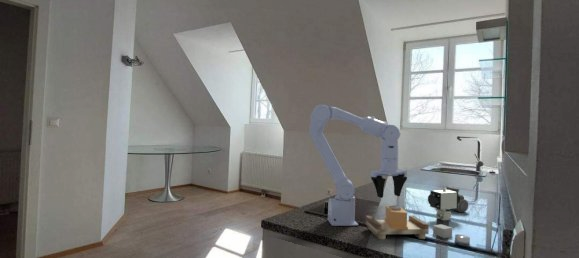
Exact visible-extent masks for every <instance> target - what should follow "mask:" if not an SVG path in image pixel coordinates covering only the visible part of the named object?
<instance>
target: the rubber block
mask: <svg viewBox="0 0 579 258" xmlns="http://www.w3.org/2000/svg"><path fill="white" fill-rule="evenodd" d="M434 234H435V235H434ZM432 235H434V236H436V235H438V236H437V237H439V236H440V238H443V239H447V238H451V237H453V227H452V226H448V225H445V224H442V223H440V224H435V225H433V226H432Z"/></svg>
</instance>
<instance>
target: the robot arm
mask: <svg viewBox="0 0 579 258" xmlns="http://www.w3.org/2000/svg"><path fill="white" fill-rule="evenodd" d="M330 118H331V121H336V120H340V121H344V122H347V123H350V124H352V125H356V126H358V127H360V130H361V132H364V133H366V134H370V135H372V136H374V137H377V138H381V147H380V152H381V153H380V169H379V170H378V169H377V170H371V171H370V178H371V181H372V183H373V185H374V188H375V190H376V196H377V197H378V198H383V197H384V190H385V189H384V188H385V184H386V180H387V179H386V178H383V177H392V183H393V194H394V196H396V197H400V196H401V193H402V190H403V186H404V184H405V183H406V181H408V177H407V175H408V171H407V170H406V169H398V168H399V167H398V165H399V163H398V162H399V139H400V137H401V132H400V129H399V128H398V127H397V126H396V125H394V124H388V123H389V122H388V121H386V120H385V121H382V120H380V119H379V120H378V119H376V116H373V115H371V116H369V115H368V116H364V117H360V116H358V115H355V114H353V113H351V112H349V111H346V110H344V109H341V108H338V107H334V106H328V105H326V104H323V103H321V104H318V105H316V106H315V107H314V108H313V110H312V112H311V115H310V121H309V122H310V123H309V130H308V134H309V136H310V138H311V140H312V142H313V143H314V145H315V147H316V149H317V151H318V153H319V156H321V158H322V161H323V163H324V165H325V166H326V168H327V170H328V171H329V174H330V176H331V177H332V180H333V183H334V185H335V186H336V193H337V194H335V195H334V197H333V198H328V202H327V203H328V205H327V221H328V222H329V224H330V225H331V226H333V227H340V226H341V227H343V226H344V227H347V226H351V227H352V226H354V227H355V226H359V223H358V222H357V221H356V220H355V218H356V217H355V216H356V215H355V214H356V197H355V193H356V189H355V186H354V184H353V182H352V180H351V179H349V178H348V177H347V175H346V174H345V172H344V170H343V169H342V167H341V164H340V163H339V161H338V159H337V158H336V155H335V154H334V151H333V150H332V148H331V146H330V144H329V142H328V140H327V139H326V137H325V135H324V133H323V132H324V130H325V127H326V124H327V123H328V122H329V121H330Z"/></svg>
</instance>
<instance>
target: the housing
mask: <svg viewBox="0 0 579 258" xmlns="http://www.w3.org/2000/svg"><path fill="white" fill-rule="evenodd" d="M384 213H385V214H384V215H385V217H384V220H385V221H386V222H387V223H388V225H389V226H390V227H391V229H406V230H408V227H407V220H408V212H407V210H405V209H404V208H403V207H402V206H399V205H385V212H384Z"/></svg>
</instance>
